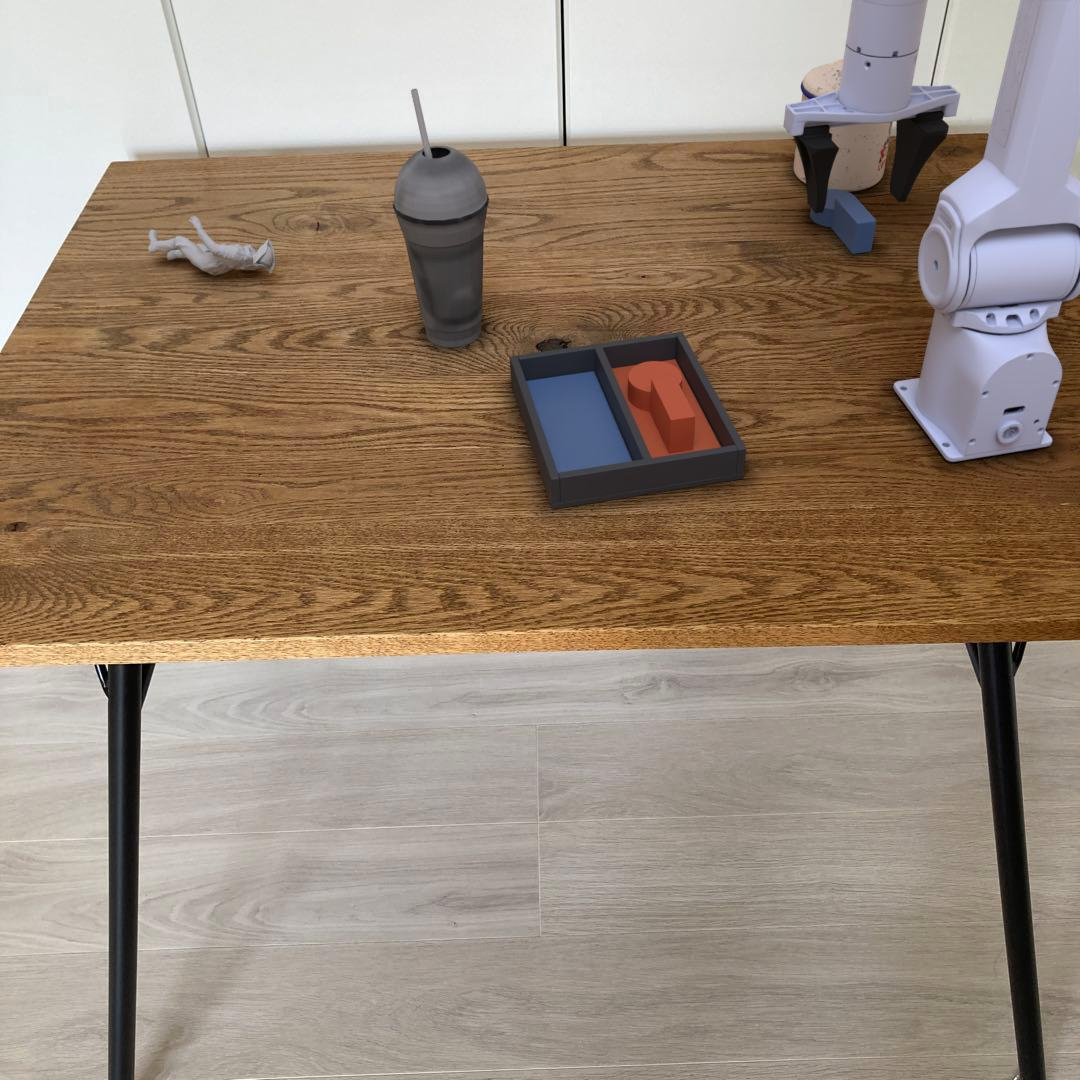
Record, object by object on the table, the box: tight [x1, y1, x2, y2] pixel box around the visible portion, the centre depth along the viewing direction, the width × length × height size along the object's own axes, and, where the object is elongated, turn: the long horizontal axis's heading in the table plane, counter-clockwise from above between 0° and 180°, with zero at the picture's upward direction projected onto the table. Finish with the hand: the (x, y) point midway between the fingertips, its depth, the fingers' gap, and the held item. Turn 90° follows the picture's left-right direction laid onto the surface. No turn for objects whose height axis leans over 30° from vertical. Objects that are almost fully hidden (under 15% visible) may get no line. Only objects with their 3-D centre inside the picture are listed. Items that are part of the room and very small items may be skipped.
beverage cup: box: [392, 88, 490, 348], centre depth 90 cm, size 7×7×20 cm
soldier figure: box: [148, 215, 276, 276], centre depth 104 cm, size 8×5×12 cm
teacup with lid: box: [793, 57, 894, 193], centre depth 113 cm, size 12×9×12 cm
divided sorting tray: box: [509, 331, 747, 510], centre depth 86 cm, size 15×14×3 cm
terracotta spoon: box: [628, 361, 695, 453], centre depth 85 cm, size 9×4×3 cm, turn 12°
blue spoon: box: [809, 189, 877, 255], centre depth 106 cm, size 9×4×3 cm, turn 12°
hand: (856, 202), depth 103 cm, fingers open, 7 cm apart
